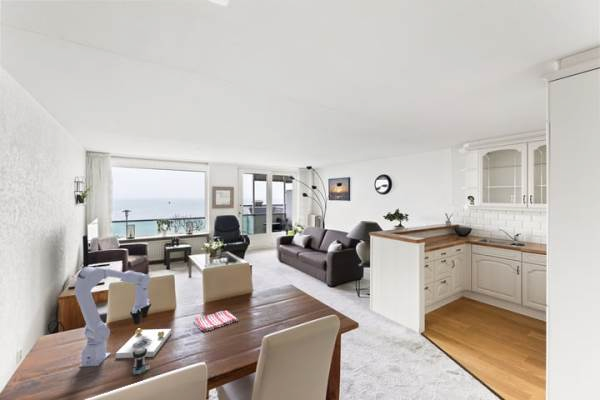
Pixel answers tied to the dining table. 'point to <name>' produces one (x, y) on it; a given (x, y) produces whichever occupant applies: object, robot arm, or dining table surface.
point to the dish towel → (214, 320)
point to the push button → (139, 360)
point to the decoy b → (160, 334)
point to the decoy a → (138, 331)
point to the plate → (148, 338)
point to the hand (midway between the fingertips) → (140, 320)
